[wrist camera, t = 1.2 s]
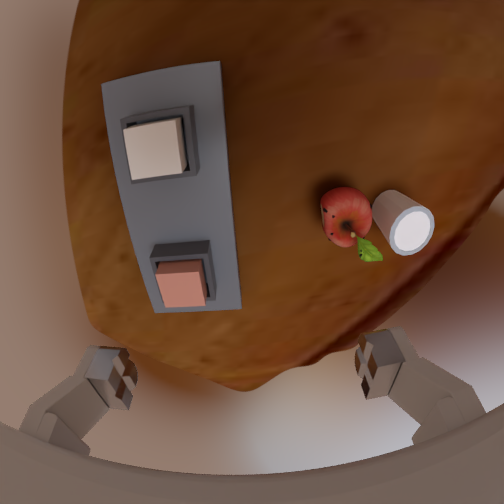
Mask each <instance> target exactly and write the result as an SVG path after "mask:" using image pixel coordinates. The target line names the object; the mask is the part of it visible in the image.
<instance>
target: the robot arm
mask: <svg viewBox="0 0 504 504" xmlns="http://www.w3.org/2000/svg"><path fill="white" fill-rule="evenodd" d="M358 343H359V345H360V347H359V348H358V349H357V350H356V353H355V367H356V371H357V374H358V376H360V377H361V378H362V379H363V381H362V384H361V386H362V389H363V392H364V395H365V398H366V400H367V399H372V398H377V397H382V396H387V395H388V397H389V398H390V399H392V400H393V401H394V402H395V403H396V404H397V405H398V406H400V407H401V408H402V409H403V410H404V411H405V412H407V413H408V414H409V415H410V416H411V417H412V418H414V419H415V420H416V421H417V422H418V423H419V424H420V425H421V426H420V427H419V428H418V430H417V431H416V432H415V434H414V435H413V437H412V440H413V444H414V445H412V446H409V447H406V448H403V449H400V450H397V451H393V452H390V453H387V454H383V455H380V456H376V457H372V458H368V459H364V460H360V461H355V462H351V463H346V464H341V465H336V466H330V467H324V468H319V469H311V470H304V471H295V472H285V473H273V474H256V475H211V474H193V473H181V472H171V471H162V470H155V469H149V468H142V467H137V466H131V465H126V464H121V463H116V462H112V461H108V460H103V459H99V458H95V457H92V456H89V453H90V448H89V446H88V445H87V444H85V443H84V442H83V441H82V440H81V439H82V438H83V437H84V436H85V435H86V434H87V433H88V432H89V430H90V429H91V428H92V427H93V426H94V425H95V424H96V423H97V422H98V421H99V420H100V419H101V418H102V417H103V416H104V415H105V413H107V411H108V410H109V408H112V409H121V410H129V407H130V404H131V401H132V397H133V395H132V393H131V390H132V389H134V388H135V387H136V384H137V381H138V372H137V368H136V366H135V364H134V363H133V362H132V361H131V360H129V359H128V358H129V353H128V351H127V349H126V348H119V347H107V346H94V345H90V346H89V347H88V348H87V349H86V351H85V353H84V355H83V357H82V359H81V361H80V363H79V365H78V367H77V369H76V371H75V373H74V375H73V376H69V377H68V378H66V379H65V380H64V381H62V382H61V383H60V384H58V385H57V386H56V387H54V388H53V389H52V390H50V391H49V392H48V393H46V394H45V395H43V396H42V397H41V398H39V399H38V400H37V401H35V402H34V403H33V404H31V405H30V407H29V409H28V411H27V413H26V415H25V417H24V419H23V422H22V424H21V426H20V428H19V430H16V429H14V428H12V427H10V426H8V425H6V424H4V423H2V422H0V504H504V403H503V404H502V405H500V406H498V407H497V408H495V409H493V410H491V411H489V412H488V413H486V412H485V410H484V408H483V406H482V404H481V402H480V401H479V399H478V397H477V395H476V393H475V391H474V389H473V388H472V386H470V385H469V384H467V383H466V382H464V381H462V380H461V379H459V378H457V377H455V376H454V375H452V374H450V373H449V372H447V371H445V370H444V369H442V368H440V367H439V366H437V365H435V364H434V363H432V362H430V361H428V360H427V359H425V358H423V357H422V358H419V356H418V354H417V353H416V351H415V349H414V347H413V345H412V344H411V342H410V340H409V338H408V337H407V335H406V333H405V331H404V330H403V328H402V327H400V326H399V327H393V328H388V329H383V330H377V331H372V332H366V333H361V334H360V336H359V339H358Z"/></svg>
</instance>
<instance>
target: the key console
mask: <svg viewBox="0 0 504 504" xmlns="http://www.w3.org/2000/svg"><path fill="white" fill-rule="evenodd" d="M101 86H102V95H103V103H104V111H105V118H106V125H107V131H108V137H109V143H110V149H111V154H112V160H113V165H114V170H115V175H116V179H117V184H118V188H119V193H120V197H121V201H122V206H123V210H124V214H125V218H126V221H127V225H128V229H129V233H130V236H131V240H132V243H133V247H134V250H135V254H136V257H137V260H138V264H139V267H140V270H141V273H142V276H143V279H144V283H145V286H146V289H147V292H148V294H149V297H150V300H151V303H152V306H153V309H154V312H155V313H165V312H192V311H212V310H230V309H242V299H241V287H240V277H239V267H238V256H237V246H236V236H235V225H234V214H233V203H232V192H231V181H230V169H229V157H228V145H227V133H226V120H225V107H224V94H223V80H222V66H221V62H220V61H214V62H205V63H197V64H189V65H183V66H176V67H171V68H165V69H160V70H155V71H150V72H145V73H141V74H136V75H132V76H128V77H124V78H120V79H117V80H113V81H109V82H106V83H103V84H101ZM178 117H181V118H182V127H183V136H184V144H185V152H186V160H187V166H186V168H185V169H184V171H183V172H182V173H180V174H171V175H164V176H156V177H149V178H142V179H136V180H132V178H131V173H130V167H129V162H128V156H127V151H126V145H125V139H124V132H123V130H124V129H126V128H128V127H131V126H133V125H137V124H143V123H148V122H153V121H159V120H165V119H172V118H178ZM201 258H202V264H203V269H204V275H205V280H206V285H207V297H206V306H192V307H167V308H165V304H164V301H163V298H162V295H161V292H160V289H159V285H158V282H157V279H156V275H155V274H156V271H157V268H158V266H159V263H160V261H173V260H187V259H201Z"/></svg>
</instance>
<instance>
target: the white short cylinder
mask: <svg viewBox="0 0 504 504" xmlns="http://www.w3.org/2000/svg"><path fill="white" fill-rule="evenodd" d="M372 216H373V219H374V221H375V222H376V224H377V225H378V227H379V228H380V230H381V232H382V233H383V235H384V236H385V238H386V239H387V241H388V243H389V244H390V246H391V247H392V249H393V250H394V251H395V252H396V253H398V254H401V255H412V254H414V253H416V252H418V251H420V250H421V249H422V248H423V247H424V246H425V245H426V244H427V243H428V241H429V240H430V238H431V236H432V234H433V229H434V218H433V215H432V214H431V212H430V211H429V210H428V209H427V208H425V207H424V206H422V205H420V204H419V203H417V202H415V201H414V200H412V199H410V198H409V197H407V196H405V195H403V194H402V193H400V192H398V191H396V190H387V191H385V192H383V193H381V194H380V195H379V196H378V197H377V198H376V199H375V201H374V203H373V205H372Z"/></svg>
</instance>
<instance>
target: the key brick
mask: <svg viewBox="0 0 504 504" xmlns="http://www.w3.org/2000/svg"><path fill="white" fill-rule="evenodd" d="M155 275H156V279H157V282H158V285H159V289H160V292H161V295H162V298H163V301H164V304H165V308H167V307H192V306H206V297H207V285H206V280H205V275H204V269H203V264H202V258H201V259H187V260H173V261H160V263H159V266H158V268H157V271H156V274H155Z"/></svg>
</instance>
